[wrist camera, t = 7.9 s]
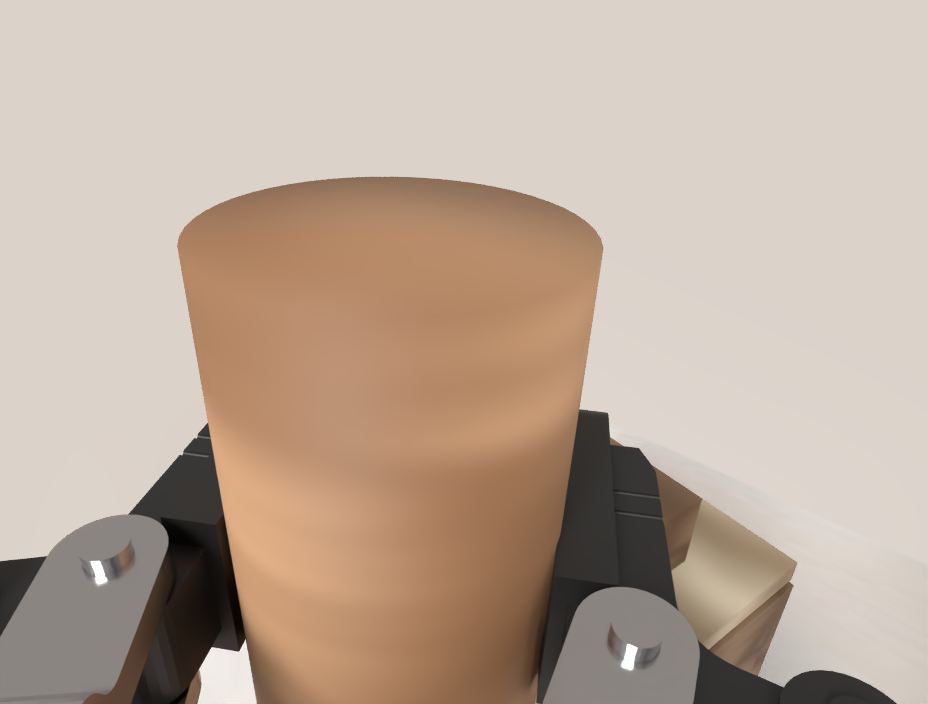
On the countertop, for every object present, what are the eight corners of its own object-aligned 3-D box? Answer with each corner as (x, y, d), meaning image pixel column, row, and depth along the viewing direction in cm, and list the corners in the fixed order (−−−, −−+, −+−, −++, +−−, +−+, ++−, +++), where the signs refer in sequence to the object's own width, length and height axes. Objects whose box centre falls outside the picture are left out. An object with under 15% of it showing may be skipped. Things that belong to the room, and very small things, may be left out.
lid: (592, 442, 43) (603, 373, 40) (790, 579, 33) (821, 500, 31) (294, 590, 32) (283, 508, 29) (465, 855, 22) (471, 769, 20)
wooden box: (573, 544, 47) (589, 443, 43) (749, 695, 38) (793, 585, 33) (315, 700, 37) (300, 586, 32) (468, 966, 27) (478, 856, 23)
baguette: (431, 711, 15) (447, 163, 9) (554, 885, 12) (693, 255, 6) (256, 825, 13) (128, 204, 7) (356, 1070, 10) (283, 371, 4)
